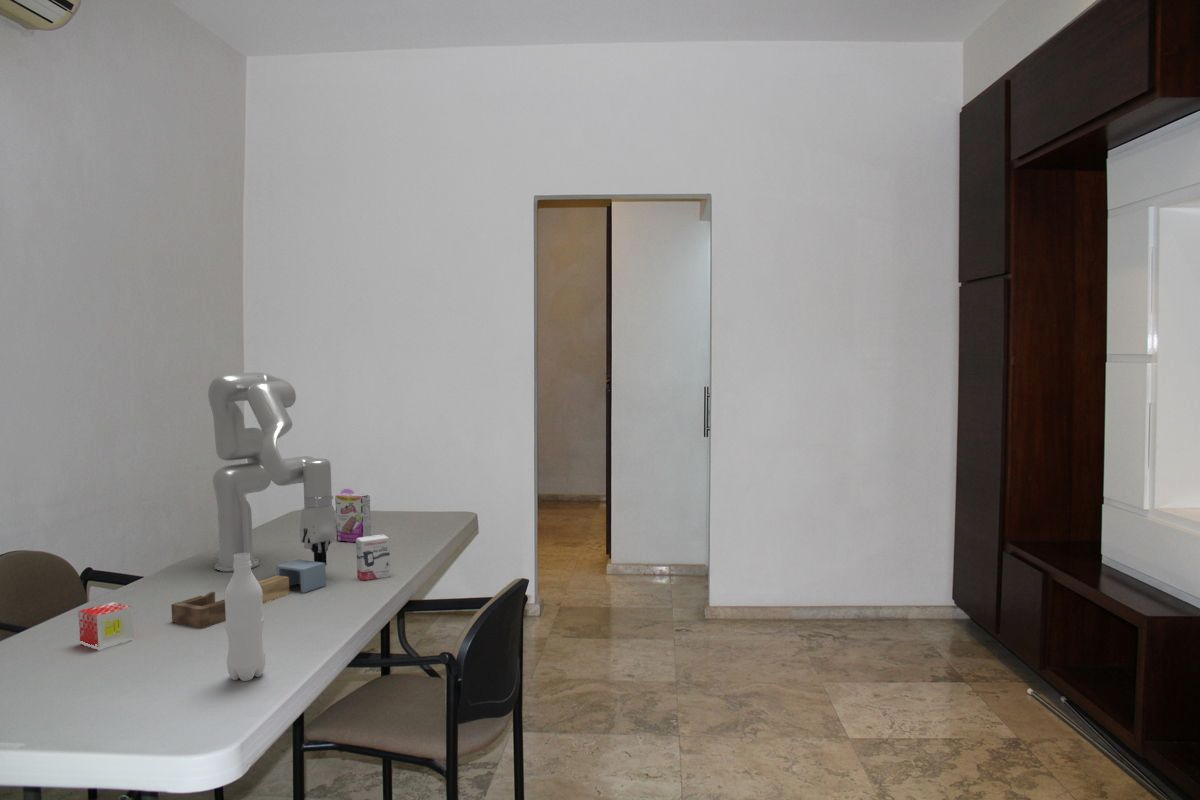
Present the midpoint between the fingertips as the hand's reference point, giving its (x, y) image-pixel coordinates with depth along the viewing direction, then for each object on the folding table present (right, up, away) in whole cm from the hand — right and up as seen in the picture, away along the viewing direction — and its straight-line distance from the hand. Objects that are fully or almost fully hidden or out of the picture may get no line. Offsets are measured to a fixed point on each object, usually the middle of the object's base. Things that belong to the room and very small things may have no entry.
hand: (320, 565), depth 244 cm
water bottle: (+9, -9, -72) cm, 73 cm away
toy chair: (-12, -1, +74) cm, 75 cm away
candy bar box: (-6, -2, +52) cm, 53 cm away
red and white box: (-32, -8, -49) cm, 60 cm away
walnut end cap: (-17, -7, -33) cm, 37 cm away
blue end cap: (-3, -5, -6) cm, 9 cm away
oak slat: (-10, -6, -19) cm, 22 cm away
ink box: (+14, -4, +4) cm, 16 cm away
